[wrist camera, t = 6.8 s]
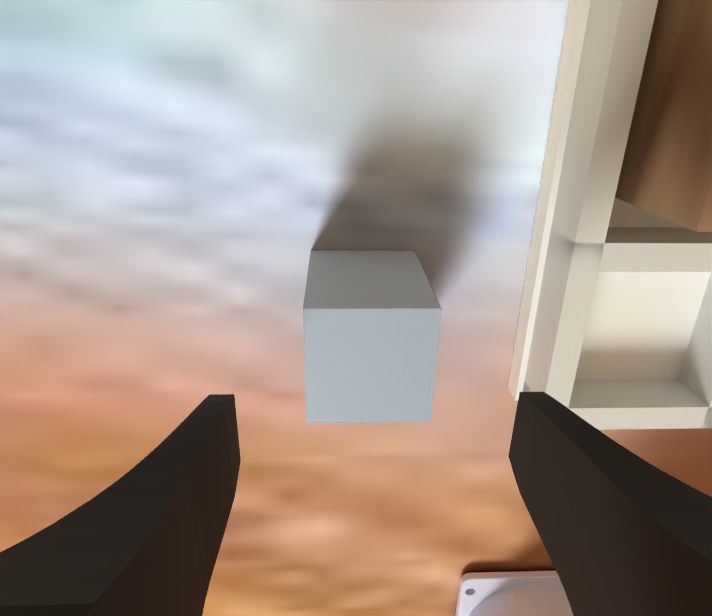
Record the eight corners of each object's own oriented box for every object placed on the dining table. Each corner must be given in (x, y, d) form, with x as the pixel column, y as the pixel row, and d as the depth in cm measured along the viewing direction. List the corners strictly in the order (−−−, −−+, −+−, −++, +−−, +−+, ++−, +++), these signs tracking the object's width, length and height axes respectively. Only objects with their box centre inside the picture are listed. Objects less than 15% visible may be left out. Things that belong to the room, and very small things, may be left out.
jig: (684, 386, 23) (732, 428, 20) (507, 387, 23) (531, 430, 20) (830, -61, 16) (930, -89, 13) (580, -68, 16) (631, -98, 13)
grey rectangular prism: (408, 341, 22) (431, 421, 17) (312, 342, 21) (306, 423, 16) (414, 250, 20) (441, 308, 15) (310, 250, 20) (302, 309, 15)
